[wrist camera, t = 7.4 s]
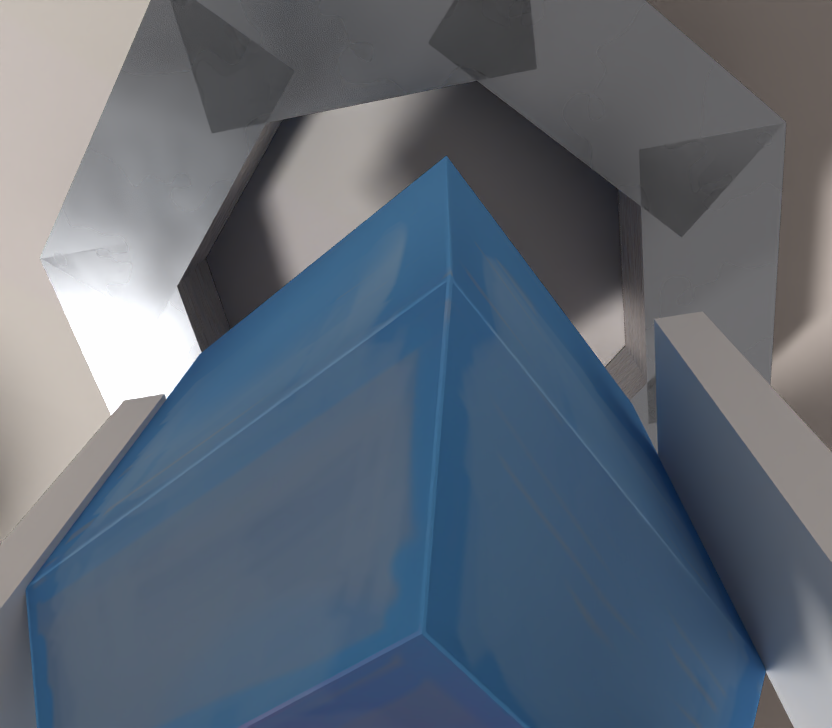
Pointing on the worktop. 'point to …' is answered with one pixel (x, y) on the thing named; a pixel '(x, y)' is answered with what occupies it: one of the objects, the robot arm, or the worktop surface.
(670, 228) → the ring
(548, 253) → the worktop surface
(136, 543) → the perfume bottle
